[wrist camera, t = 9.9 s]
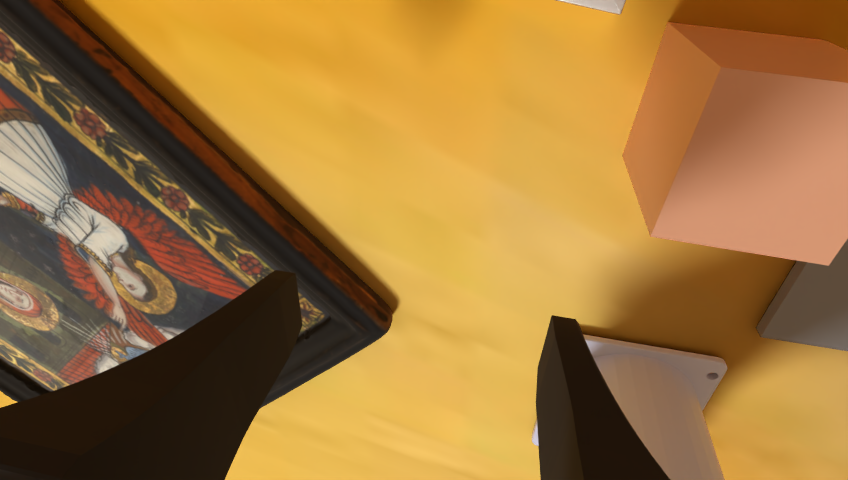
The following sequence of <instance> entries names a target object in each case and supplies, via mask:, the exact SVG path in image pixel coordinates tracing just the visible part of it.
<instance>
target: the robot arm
mask: <svg viewBox="0 0 848 480" xmlns="http://www.w3.org/2000/svg"><path fill="white" fill-rule="evenodd" d="M302 325H303V324H302V317H301V309H300V302H299V294H298V287H297V279H296V273H292V272H286V271H280V270H275V271H273V272H272V273H270V274H269V275H267V276H266V277H264V278H263V279H262V280H260V281H259V282H257V283H256V284H255V285H253V286H252V287H250V288H249V289H248V290H246V291H245V292H243V293H242V294H240V295H239V296H238V297H236V298H235V299H233V300H232V301H230V302H229V303H227V304H226V305H224V306H223V307H221V308H220V309H219V310H217V311H216V312H214V313H212V314H211V315H209V316H208V317H206V318H204V319H203V320H201V321H200V322H198V323H196V324H195V325H193V326H192V327H190V328H188V329H187V330H185V331H184V332H182V333H180V334H179V335H177V336H175V337H173V338H171V339H170V340H168V341H166V342H164V343H162V344H160V345H159V346H157V347H155V348H153V349H151V350H149V351H147V352H145V353H143V354H141V355H139V356H137V357H135V358H132V359H130V360H128V361H126V362H124V363H121V364H119V365H117V366H115V367H113V368H110V369H108V370H106V371H104V372H101V373H99V374H97V375H94V376H92V377H89V378H86V379H84V380H81V381H79V382H76V383H74V384H71V385H68V386H65V387H63V388H60V389H57V390H55V391H52V392H49V393H46V394H43V395H40V396H37V397H33V398H30V399H27V400H24V401H21V402H18V403H14V404H11V405H8V406H5V407H2V408H0V480H225V477H226V475H227V473H228V470H229V468H230V466H231V464H232V461H233V459H234V457H235V455H236V453H237V450H238V448H239V446H240V444H241V442H242V439H243V437H244V435H245V434H246V432H247V430H248V428H249V426H250V424H251V422H252V420H253V419H254V417H255V415H256V414H257V412H258V410H259V408H260V407H261V405H262V403H263V402H264V400H265V398H266V397H267V395H268V393H269V391H270V390H271V388H272V386H273V385H274V383H275V381H276V379H277V378H278V376H279V374H280V372H281V371H282V369H283V367H284V365H285V364H286V362H287V360H288V358H289V357H290V354H291V352H292V350H293V347H294V345H295V343H296V340H297V338H298V335H299V333H300V330H301V328H302ZM726 371H727V365H726V363H725V360H723V359H722V358H719V357H714V356H708V355H702V354H696V353H690V352H684V351H678V350H673V349H667V348H661V347H655V346H649V345H643V344H637V343H631V342H625V341H619V340H613V339H607V338H601V337H595V336H590V335H584V334H583V333H582V331H581V329H580V326H579V323H578V322H577V321H576V319H571V318H565V317H558V316H552V317H551V321H550V324H549V328H548V332H547V335H546V339H545V343H544V347H543V350H542V354H541V358H540V361H539V365H538V374H537V393H536V411H537V420H536V423H535V427H534V430H533V433H532V442H533V443H534V444H535V445H537V446H539V459H540V474H541V480H724V477H723V474H722V471H721V468H720V465H719V462H718V459H717V455H716V452H715V449H714V446H713V443H712V440H711V437H710V434H709V431H708V428H707V425H706V422H705V419H704V416H703V413H702V411H703V409H704V408H705V406H706V404H707V403H708V401H709V399H710V398H711V396H712V394H713V393H714V391H715V389H716V388H717V386H718V384H719V383H720V381H721V379H722V378H723V376H724V374H725V373H726ZM709 373H711V374H709Z"/></svg>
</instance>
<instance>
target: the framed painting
mask: <svg viewBox="0 0 848 480" xmlns="http://www.w3.org/2000/svg"><path fill="white" fill-rule="evenodd" d="M275 270H280V271H286V272H292V273H296V279H297V287H298V294H299V302H300V309H301V317H302V324H303V325H302V328H301V330H300V333H299V335H298V338H297V340H296V343H295V345H294V347H293V350H292V352H291V354H290V357H289V358H288V360H287V362H286V364H285V365H284V367H283V369H282V371H281V372H280V374H279V376H278V378H277V379H276V381H275V383H274V385H273V386H272V388H271V390H270V391H269V393H268V395H267V397H266V398H265V400H264V402H263V403H262V405H261V407H263V406H265V405H267V404H268V403H270V402H272V401H274V400H276V399H277V398H279V397H281V396H283V395H285V394H286V393H288V392H290V391H291V390H293V389H295V388H296V387H298V386H300V385H302V384H304V383H305V382H307V381H309V380H311V379H312V378H314V377H316V376H317V375H319V374H321V373H323V372H324V371H326V370H328V369H330V368H332V367H333V366H335V365H337V364H338V363H340V362H342V361H344V360H345V359H347V358H349V357H350V356H352V355H354V354H355V353H357V352H359V351H360V350H362V349H364V348H365V347H367V346H369V345H370V344H372V343H373V342H375V341H376V340H378V339H379V338H381V337H382V336H383V335H385V334H386V333H387V332H388V330H389V328H390V326H391V323H392V311H391V309H390V308H389V306H388V305H387V304H386V303H385V302H384V301H383V300H382V299H381V298H380V297H379V296H378V295H377V294H376V293H375V292H374V291H373V290H372V289H371V288H370V287H369V286H368V285H367V284H366V283H365V282H363V281H362V280H361V279H360V278H359V277H358V276H357V275H356V274H355V273H354V272H353V271H352V270H350V269H349V268H348V267H347V266H346V265H345V264H344V263H343V262H342V261H341V260H340V259H339V258H337V257H336V256H335V255H334V254H333V253H332V252H331V251H330V250H329V249H328V248H327V247H325V246H324V245H323V244H322V243H321V242H320V241H319V240H318V239H317V238H316V237H315V236H313V235H312V234H311V233H310V232H309V231H308V230H307V229H306V228H305V227H304V226H303V225H301V224H300V223H299V222H298V221H297V220H296V219H295V218H294V217H293V216H292V215H291V214H290V213H289V212H287V211H286V210H285V209H284V208H283V207H282V206H281V205H280V204H279V203H278V202H277V201H276V200H274V199H273V198H272V197H271V196H270V195H269V194H268V193H267V192H266V191H265V190H264V189H262V188H261V187H260V186H259V185H258V184H257V183H256V182H255V181H254V180H253V179H252V178H251V177H250V176H248V175H247V174H246V173H245V172H244V171H243V170H242V169H241V168H240V167H239V166H238V165H237V164H236V163H235V162H233V161H232V160H231V159H230V158H229V157H228V156H227V155H226V154H225V153H224V152H222V151H221V150H220V149H219V148H218V147H217V146H216V145H215V144H214V143H213V142H212V141H211V140H209V139H208V138H207V137H206V136H205V135H204V134H203V133H202V132H201V131H200V130H199V129H197V128H196V127H195V126H194V125H193V124H192V123H191V122H190V121H188V120H187V119H186V118H185V117H184V116H183V115H182V114H181V113H180V112H179V111H178V110H177V109H176V108H174V107H173V106H172V105H171V104H170V103H169V102H168V101H167V100H166V99H165V98H164V97H163V96H161V95H160V94H159V93H158V92H157V91H156V90H155V89H154V88H153V87H152V86H151V85H150V84H148V83H147V82H146V81H145V80H144V79H143V78H142V77H141V76H140V75H139V74H138V73H137V72H135V71H134V70H133V69H132V68H131V67H130V66H129V65H128V64H127V63H126V62H124V61H123V60H122V59H121V58H120V57H119V56H118V55H117V54H116V53H115V52H113V51H112V50H111V49H110V48H109V47H108V46H107V45H106V44H105V43H104V42H103V41H102V40H100V39H99V38H98V37H97V36H96V35H95V34H94V33H93V32H92V31H91V30H90V29H89V28H87V27H86V26H85V25H84V24H83V23H82V22H81V21H80V20H79V19H78V18H77V17H76V16H74V15H73V14H72V13H71V12H70V11H69V10H68V9H67V8H66V7H65V6H64V5H63V4H61V3H60V2H59V1H58V0H0V391H1V392H3V393H4V394H5V395H7V396H9V397H10V398H11V399H12V400H15V401H17V402H21V401H24V400H27V399H30V398H33V397H37V396H40V395H43V394H46V393H49V392H52V391H55V390H57V389H60V388H63V387H65V386H68V385H71V384H74V383H76V382H79V381H81V380H84V379H86V378H89V377H92V376H94V375H97V374H99V373H101V372H104V371H106V370H108V369H110V368H113V367H115V366H117V365H119V364H121V363H124V362H126V361H128V360H130V359H132V358H135V357H137V356H139V355H141V354H143V353H145V352H147V351H149V350H151V349H153V348H155V347H157V346H159V345H160V344H162V343H164V342H166V341H168V340H170V339H171V338H173V337H175V336H177V335H179V334H180V333H182V332H184V331H185V330H187V329H188V328H190V327H192V326H193V325H195V324H196V323H198V322H200V321H201V320H203V319H204V318H206V317H208V316H209V315H211V314H212V313H214V312H216V311H217V310H219V309H220V308H221V307H223V306H224V305H226V304H227V303H229V302H230V301H232V300H233V299H235V298H236V297H238V296H239V295H240V294H242V293H243V292H245V291H246V290H248V289H249V288H250V287H252V286H253V285H255V284H256V283H257V282H259V281H260V280H262V279H263V278H264V277H266V276H267V275H269V274H270V273H272V272H273V271H275ZM261 407H260V408H261ZM260 408H259V409H260Z"/></svg>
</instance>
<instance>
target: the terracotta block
mask: <svg viewBox="0 0 848 480" xmlns="http://www.w3.org/2000/svg"><path fill="white" fill-rule="evenodd" d="M622 156H623V159H624V162H625V165H626V167H627V170H628V173H629V176H630V179H631V182H632V185H633V188H634V190H635V193H636V196H637V199H638V202H639V205H640V208H641V211H642V214H643V216H644V219H645V222H646V225H647V228H648V231H649V234H650V237H656V238H662V239H668V240H675V241H681V242H687V243H693V244H699V245H705V246H711V247H717V248H723V249H730V250H736V251H742V252H748V253H754V254H760V255H766V256H772V257H778V258H784V259H791V260H797V261H803V262H809V263H815V264H821V265H827V266H829V265H830V263H831V262H832V260H833V259H834V257H835V256H836V255H837V253H838V252H839V250H840V249H841V247H842V246H843V245H844V243H845V242H846V240H847V239H848V50H846V49H844V48H841V47H839V46H837V45H835V44H832V43H830V42H828V41H826V40H821V39H812V38H804V37H795V36H786V35H777V34H769V33H760V32H751V31H742V30H734V29H725V28H716V27H707V26H698V25H690V24H681V23H672V22H667V25H666V28H665V31H664V34H663V37H662V40H661V43H660V46H659V49H658V52H657V55H656V58H655V61H654V64H653V67H652V70H651V72H650V75H649V78H648V81H647V84H646V87H645V90H644V93H643V96H642V99H641V102H640V105H639V108H638V111H637V114H636V117H635V120H634V123H633V126H632V129H631V132H630V135H629V138H628V141H627V144H626V147H625V150H624V152H623V155H622Z"/></svg>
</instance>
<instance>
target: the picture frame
mask: <svg viewBox="0 0 848 480" xmlns="http://www.w3.org/2000/svg"><path fill="white" fill-rule="evenodd" d="M556 1H561V2H565V3H570V4H574V5H579V6H583V7H587V8H592V9H596V10H601V11H605V12H609V13H614V14H618V15H620V14H621V12H622V9H623V7H624V4H625V1H626V0H556Z"/></svg>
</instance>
